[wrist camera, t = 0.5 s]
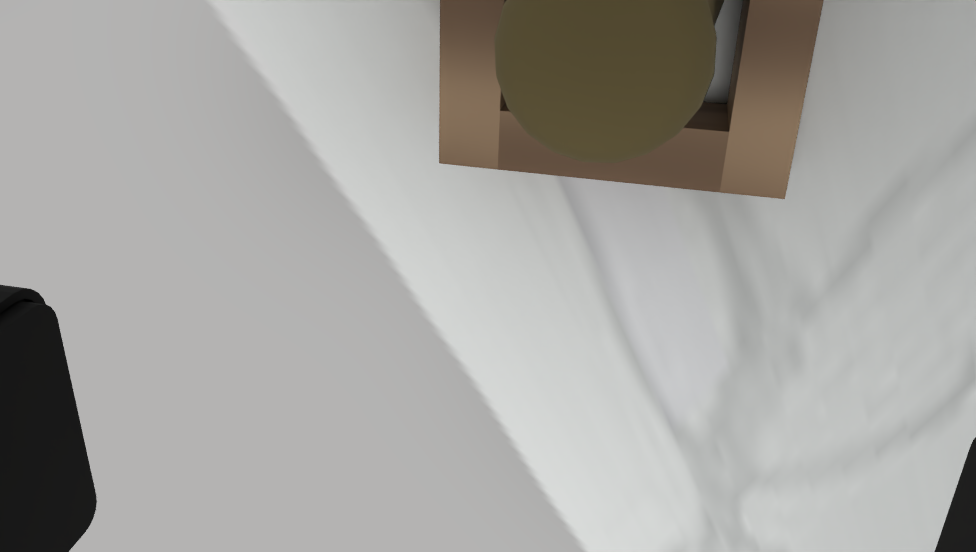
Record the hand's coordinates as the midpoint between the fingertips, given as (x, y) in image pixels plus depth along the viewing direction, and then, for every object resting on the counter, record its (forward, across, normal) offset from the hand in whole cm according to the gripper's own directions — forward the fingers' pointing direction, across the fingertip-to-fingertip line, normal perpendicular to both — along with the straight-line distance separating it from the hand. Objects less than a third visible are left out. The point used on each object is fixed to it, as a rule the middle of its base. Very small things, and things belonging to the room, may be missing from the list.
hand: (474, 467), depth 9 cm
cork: (+24, 0, -1) cm, 24 cm away
